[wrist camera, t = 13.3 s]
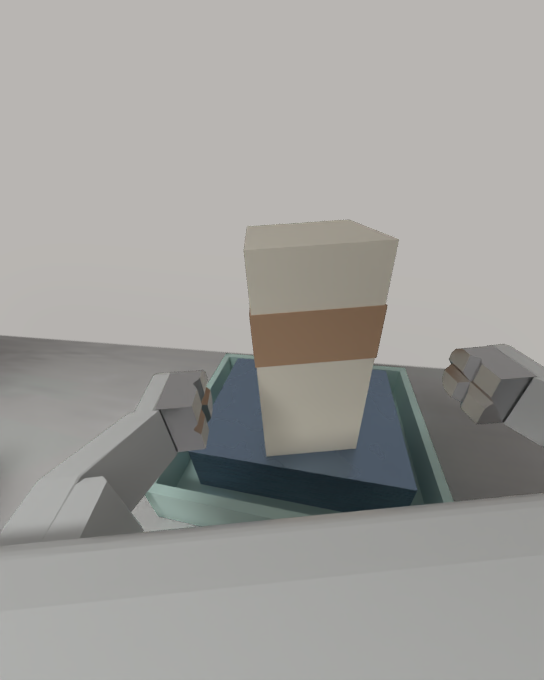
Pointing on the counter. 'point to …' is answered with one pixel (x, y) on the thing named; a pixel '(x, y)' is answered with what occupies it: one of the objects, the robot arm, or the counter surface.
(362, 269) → the carton
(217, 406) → the block
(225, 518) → the green tray
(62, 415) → the counter surface
